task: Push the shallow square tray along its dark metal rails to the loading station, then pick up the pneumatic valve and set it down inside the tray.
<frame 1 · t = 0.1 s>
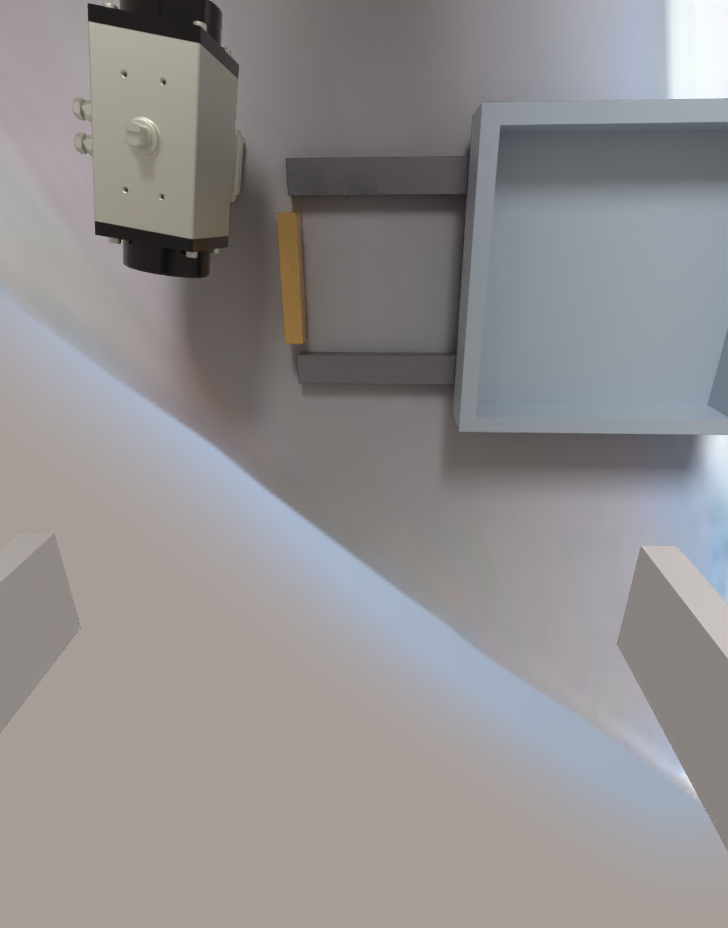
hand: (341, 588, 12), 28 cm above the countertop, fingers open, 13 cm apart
pneumatic valve: (210, 161, 34), on the countertop
rails: (519, 278, 36), on the countertop
shallow square tray: (615, 283, 33), point 3 cm above the countertop, slide at 0.0 cm
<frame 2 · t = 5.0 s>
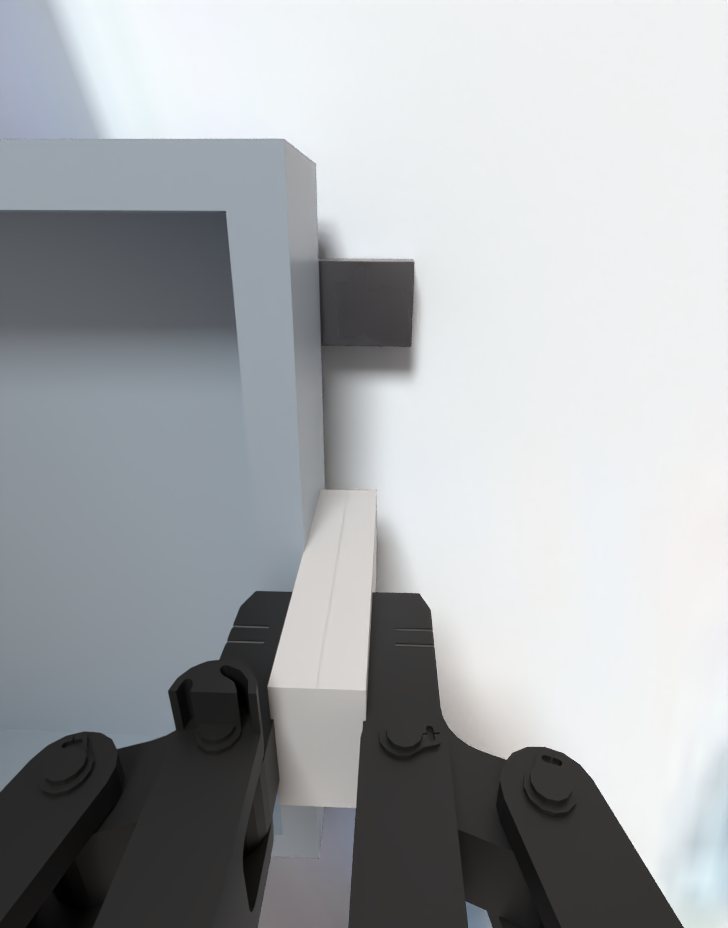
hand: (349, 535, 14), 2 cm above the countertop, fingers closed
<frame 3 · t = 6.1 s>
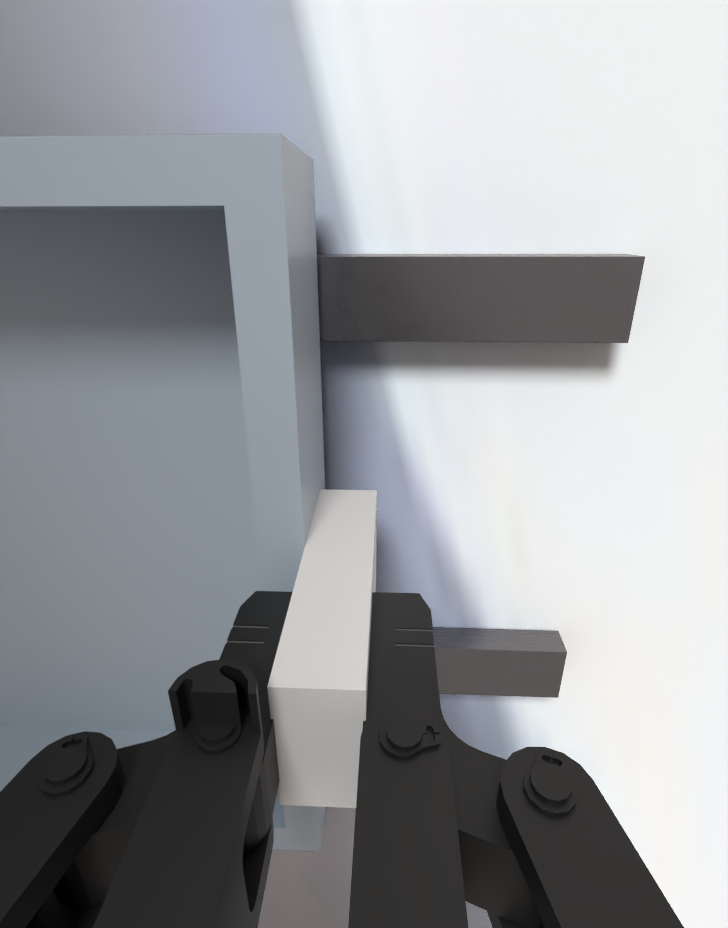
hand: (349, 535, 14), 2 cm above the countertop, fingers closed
rails: (99, 492, 17), on the countertop
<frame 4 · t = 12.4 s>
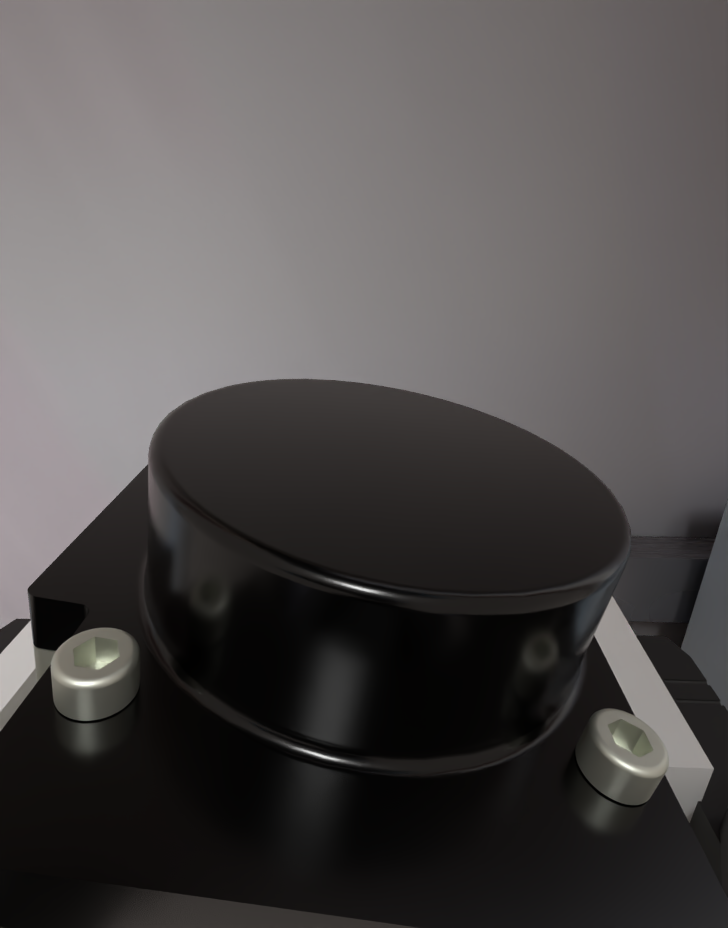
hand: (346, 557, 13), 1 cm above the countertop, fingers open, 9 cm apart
pneumatic valve: (332, 526, 15), on the countertop
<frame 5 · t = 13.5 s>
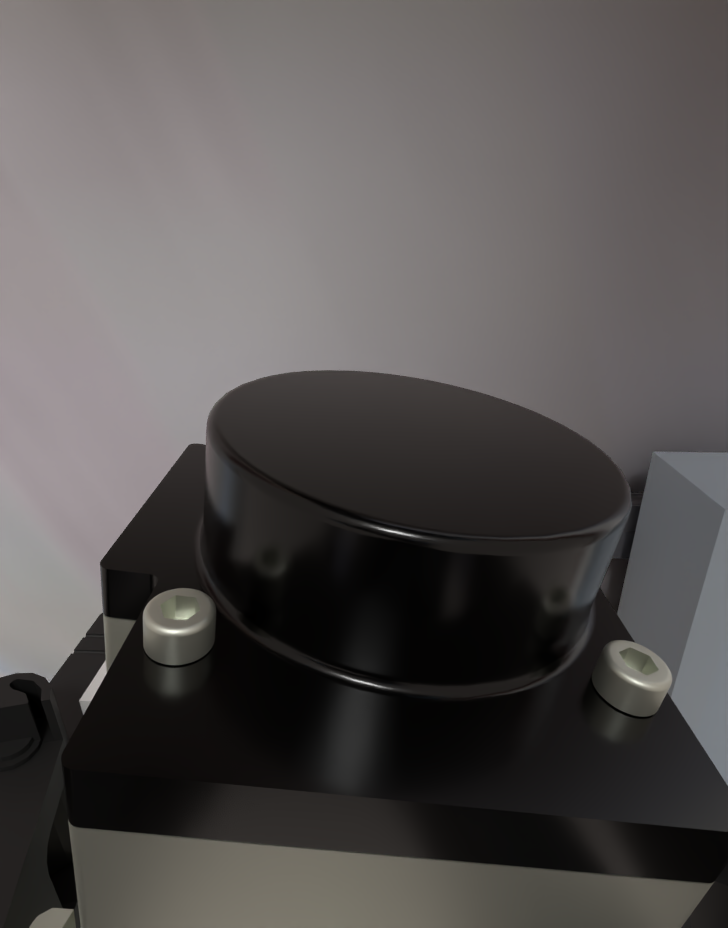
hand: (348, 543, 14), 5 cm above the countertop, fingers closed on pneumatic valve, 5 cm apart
pneumatic valve: (337, 516, 15), point 3 cm above the countertop, touching gripper
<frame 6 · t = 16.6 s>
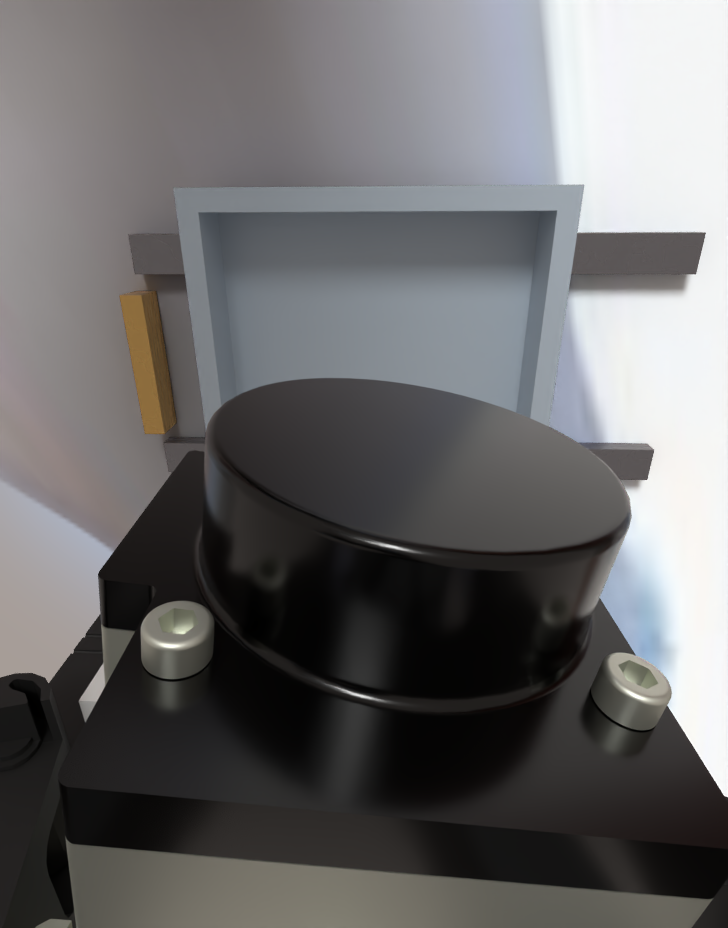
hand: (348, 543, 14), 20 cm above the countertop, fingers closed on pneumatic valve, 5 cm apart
pneumatic valve: (336, 520, 15), point 18 cm above the countertop, touching gripper
rails: (405, 361, 32), on the countertop
shallow square tray: (375, 375, 29), point 3 cm above the countertop, slide at 6.7 cm
when the fingers open (4 cm above the countertop, at t = 19.5 s): pneumatic valve stays where it is, resting on shallow square tray.
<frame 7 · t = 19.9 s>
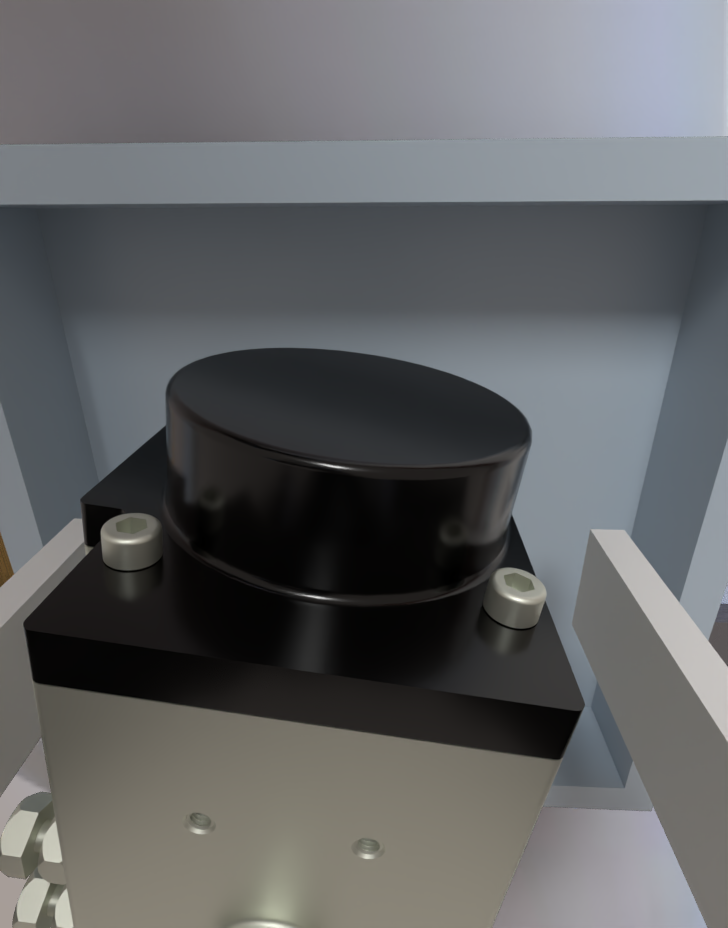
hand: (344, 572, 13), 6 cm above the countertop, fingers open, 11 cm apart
pneumatic valve: (336, 499, 16), point 2 cm above the countertop, touching shallow square tray
rails: (417, 474, 18), on the countertop
shallow square tray: (362, 521, 15), point 3 cm above the countertop, slide at 6.7 cm, touching pneumatic valve
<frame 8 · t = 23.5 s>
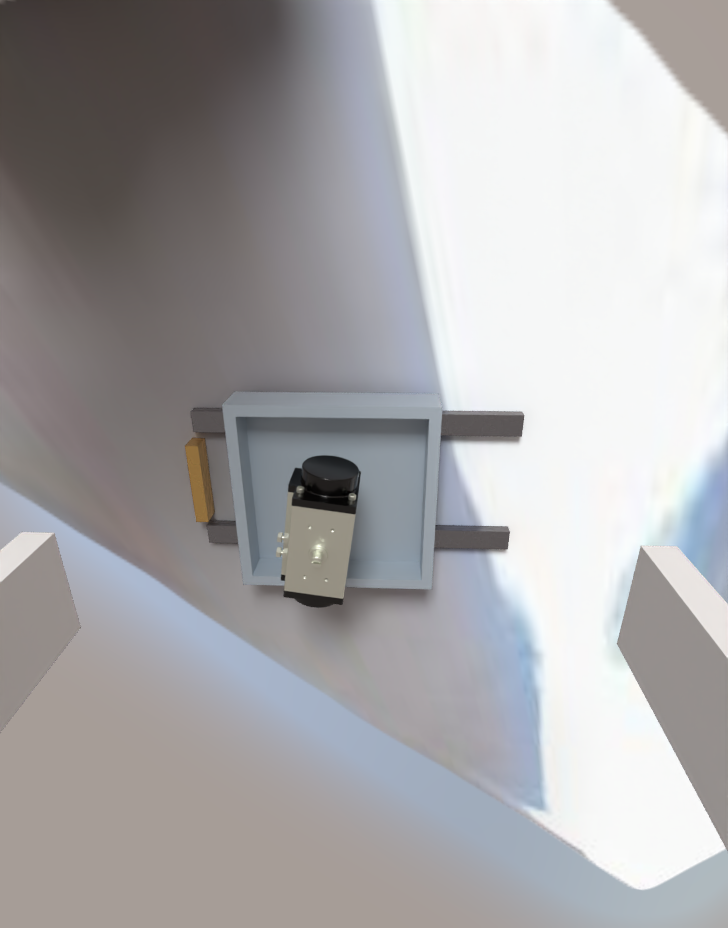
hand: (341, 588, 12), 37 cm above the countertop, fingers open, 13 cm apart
pneumatic valve: (328, 486, 50), point 2 cm above the countertop, touching shallow square tray
rails: (356, 478, 52), on the countertop
shallow square tray: (336, 493, 49), point 3 cm above the countertop, slide at 6.7 cm, touching pneumatic valve
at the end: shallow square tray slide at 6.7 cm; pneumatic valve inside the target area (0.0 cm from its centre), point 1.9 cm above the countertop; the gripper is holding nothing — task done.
